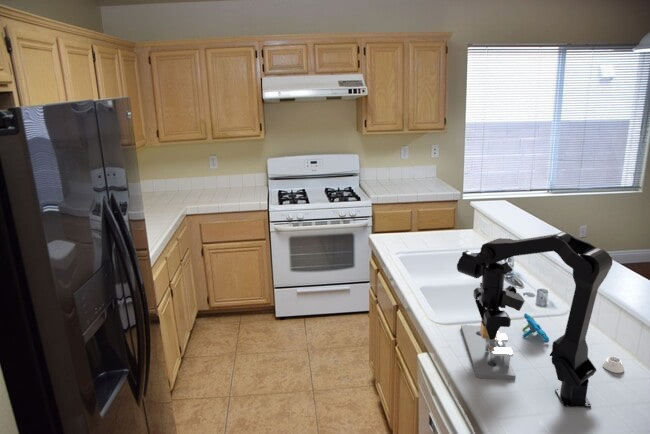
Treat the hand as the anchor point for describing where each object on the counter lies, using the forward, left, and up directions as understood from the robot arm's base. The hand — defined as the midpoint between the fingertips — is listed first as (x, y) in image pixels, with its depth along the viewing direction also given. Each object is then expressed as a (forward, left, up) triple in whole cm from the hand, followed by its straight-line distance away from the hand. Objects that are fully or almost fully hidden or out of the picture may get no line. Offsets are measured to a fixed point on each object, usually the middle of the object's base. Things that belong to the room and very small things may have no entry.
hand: (488, 332), depth 133 cm
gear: (+11, -17, -8) cm, 22 cm away
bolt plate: (+2, 0, -8) cm, 8 cm away
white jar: (-4, -33, -8) cm, 34 cm away
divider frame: (+3, -2, -6) cm, 7 cm away
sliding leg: (0, -2, -6) cm, 6 cm away
